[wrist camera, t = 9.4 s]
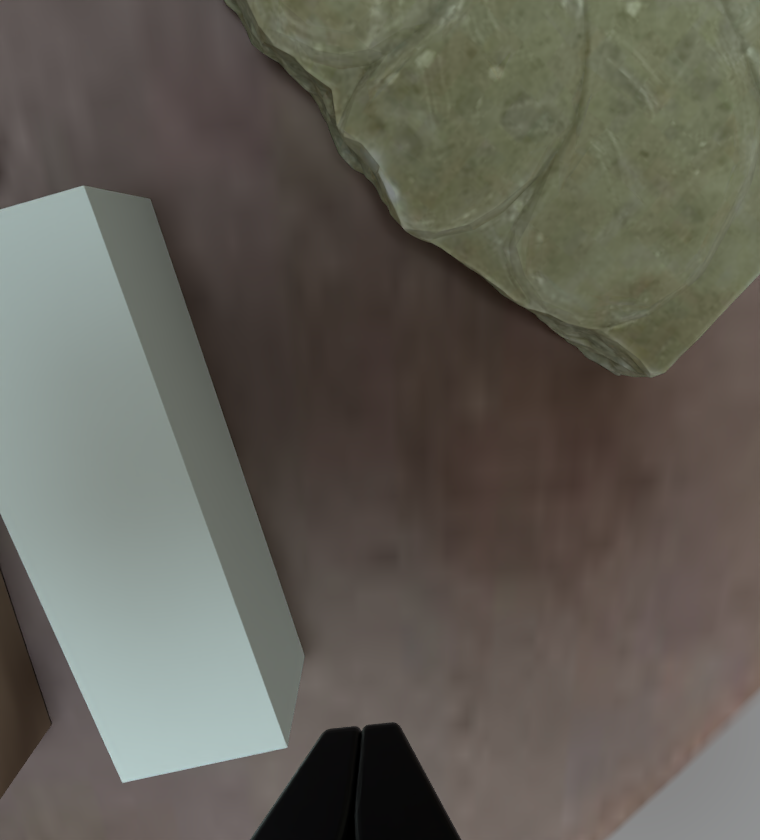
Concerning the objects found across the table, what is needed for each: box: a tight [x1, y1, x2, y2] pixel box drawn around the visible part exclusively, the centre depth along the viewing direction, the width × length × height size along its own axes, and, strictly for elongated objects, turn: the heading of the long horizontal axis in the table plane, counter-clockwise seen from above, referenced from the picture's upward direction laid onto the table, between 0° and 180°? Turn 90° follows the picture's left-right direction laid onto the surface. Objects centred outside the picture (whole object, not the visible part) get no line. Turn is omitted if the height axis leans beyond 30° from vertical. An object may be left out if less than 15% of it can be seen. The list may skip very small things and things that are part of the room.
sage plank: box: [0, 186, 305, 783], centre depth 16 cm, size 14×4×4 cm, turn 15°
